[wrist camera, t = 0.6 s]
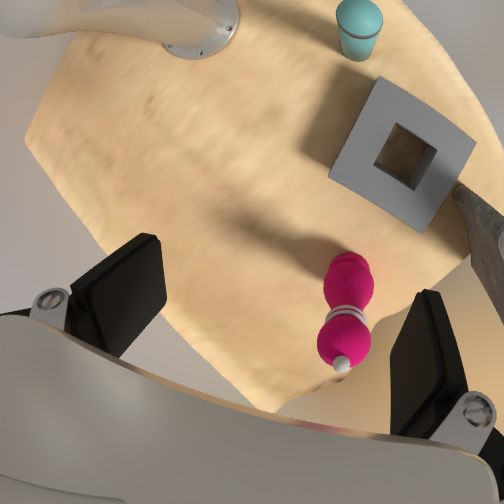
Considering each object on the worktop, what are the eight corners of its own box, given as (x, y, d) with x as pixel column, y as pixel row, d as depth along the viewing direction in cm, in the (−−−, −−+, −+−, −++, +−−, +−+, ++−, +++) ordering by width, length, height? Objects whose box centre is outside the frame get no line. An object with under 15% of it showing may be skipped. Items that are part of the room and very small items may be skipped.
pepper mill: (320, 282, 46) (295, 380, 29) (335, 242, 42) (319, 335, 26) (361, 296, 45) (357, 398, 28) (379, 258, 41) (389, 356, 24)
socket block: (330, 169, 38) (327, 177, 34) (375, 80, 31) (379, 75, 26) (414, 220, 37) (422, 234, 33) (462, 138, 30) (476, 142, 25)
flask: (470, 179, 32) (534, 228, 16) (490, 263, 35) (536, 338, 20) (449, 189, 33) (505, 243, 18) (472, 272, 37) (512, 351, 22)
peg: (335, 53, 31) (328, 23, 19) (347, 29, 28) (345, -10, 17) (364, 67, 30) (373, 43, 18) (376, 43, 28) (389, 9, 16)
